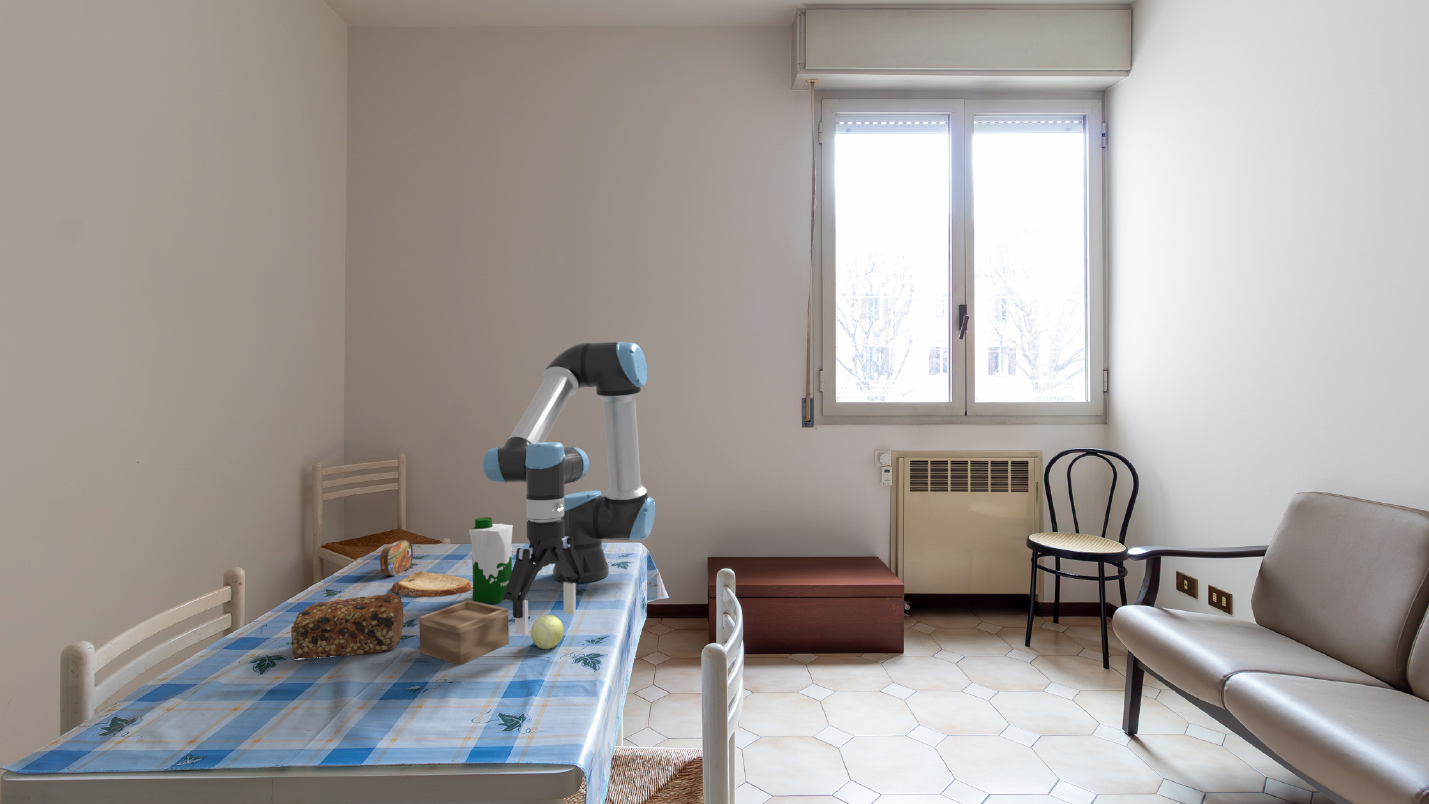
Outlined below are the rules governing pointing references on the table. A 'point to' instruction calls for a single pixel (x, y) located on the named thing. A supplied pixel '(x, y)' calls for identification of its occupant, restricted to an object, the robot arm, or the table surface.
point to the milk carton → (490, 560)
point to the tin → (396, 558)
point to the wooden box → (463, 631)
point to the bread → (348, 627)
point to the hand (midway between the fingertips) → (546, 623)
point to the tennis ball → (547, 631)
